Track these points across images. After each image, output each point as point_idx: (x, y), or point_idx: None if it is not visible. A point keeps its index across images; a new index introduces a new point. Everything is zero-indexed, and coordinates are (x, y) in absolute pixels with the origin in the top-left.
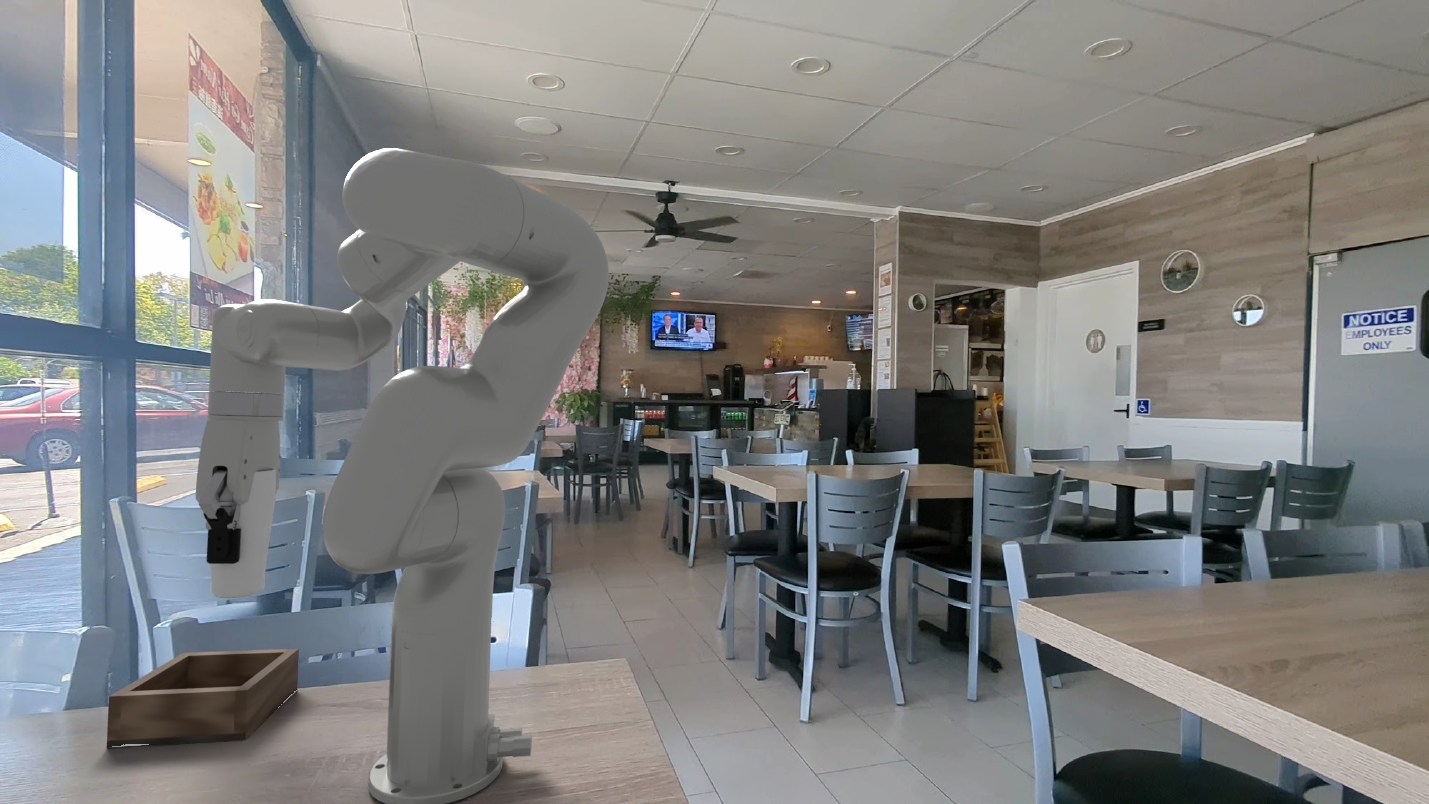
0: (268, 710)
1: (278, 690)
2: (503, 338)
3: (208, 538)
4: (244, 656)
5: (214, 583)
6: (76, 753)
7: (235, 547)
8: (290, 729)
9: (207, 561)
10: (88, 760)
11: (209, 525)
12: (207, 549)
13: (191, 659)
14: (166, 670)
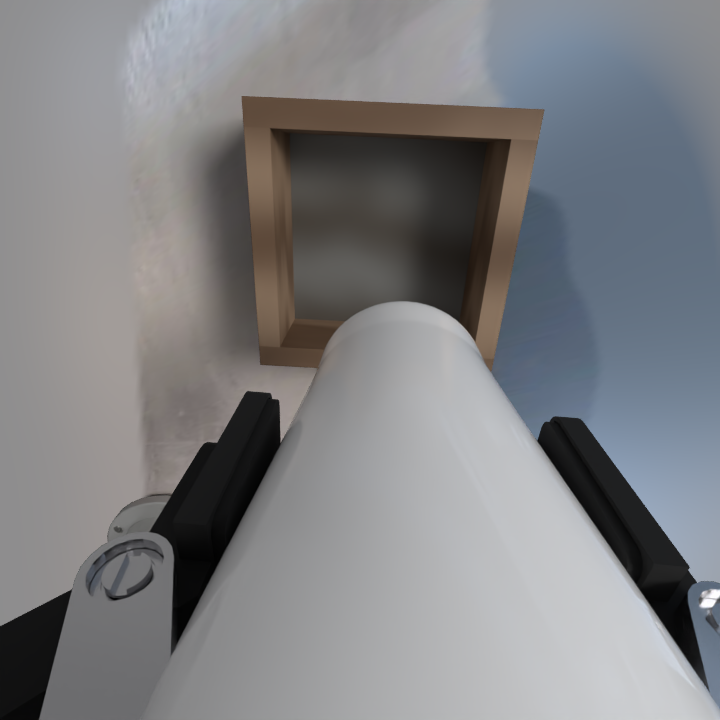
0: None
1: None
2: None
3: (201, 474)
4: (485, 275)
5: (327, 349)
6: (255, 58)
7: None
8: (311, 377)
9: (248, 393)
10: (227, 104)
11: (94, 578)
12: (227, 427)
13: (506, 148)
14: (413, 134)
